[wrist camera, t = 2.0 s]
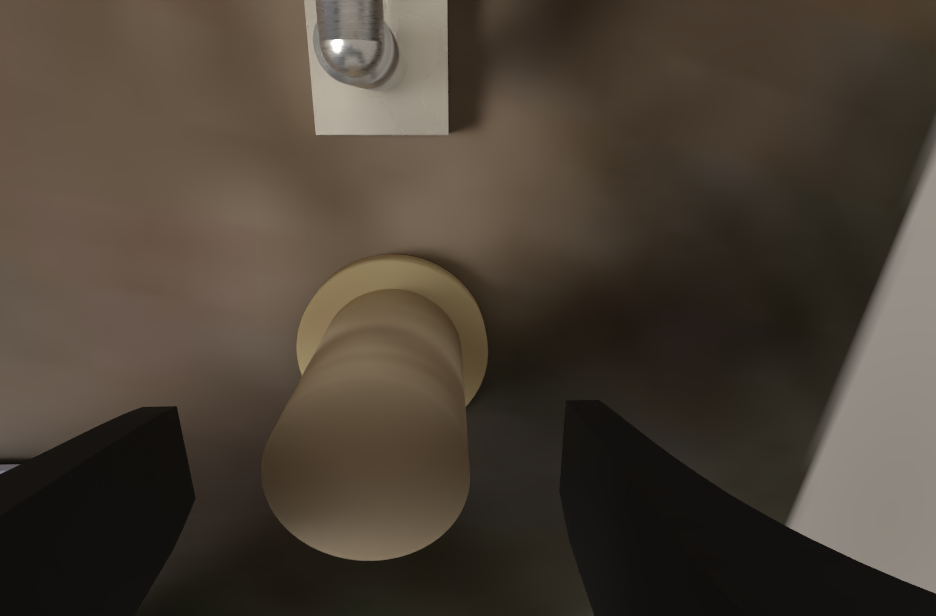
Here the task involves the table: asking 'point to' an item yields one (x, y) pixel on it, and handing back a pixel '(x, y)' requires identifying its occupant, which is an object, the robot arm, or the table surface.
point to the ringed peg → (378, 411)
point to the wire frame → (378, 66)
